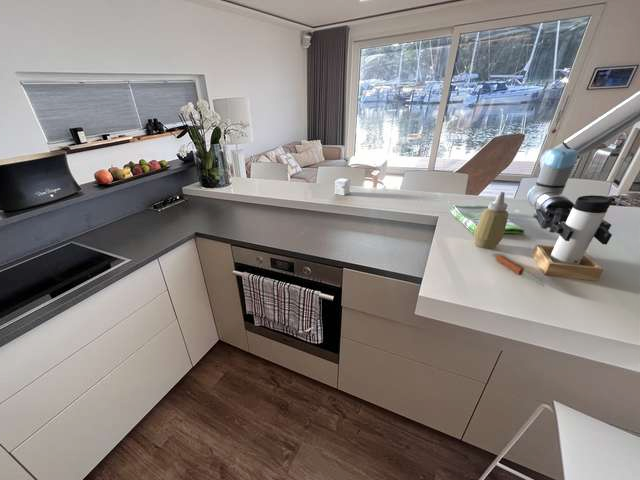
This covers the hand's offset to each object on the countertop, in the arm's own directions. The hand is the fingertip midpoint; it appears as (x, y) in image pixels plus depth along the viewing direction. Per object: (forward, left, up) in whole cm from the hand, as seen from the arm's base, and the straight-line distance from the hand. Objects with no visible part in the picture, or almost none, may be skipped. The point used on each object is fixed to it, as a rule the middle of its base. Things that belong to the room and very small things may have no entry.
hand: (587, 237), depth 72 cm
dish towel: (+5, -39, -12) cm, 41 cm away
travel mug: (-1, -5, -11) cm, 12 cm away
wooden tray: (-1, -5, -11) cm, 13 cm away
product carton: (+57, -83, -12) cm, 101 cm away
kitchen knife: (+12, -1, -12) cm, 17 cm away
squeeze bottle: (+13, -19, -12) cm, 25 cm away
